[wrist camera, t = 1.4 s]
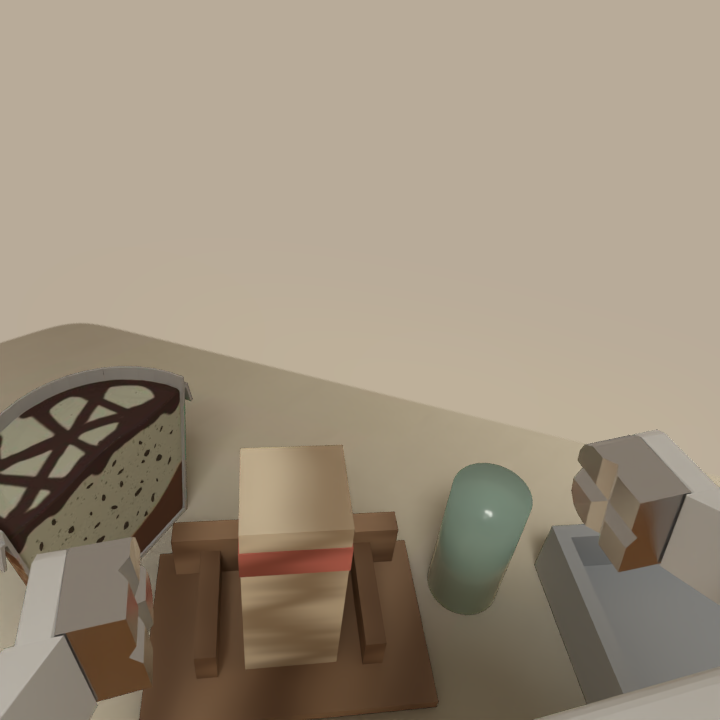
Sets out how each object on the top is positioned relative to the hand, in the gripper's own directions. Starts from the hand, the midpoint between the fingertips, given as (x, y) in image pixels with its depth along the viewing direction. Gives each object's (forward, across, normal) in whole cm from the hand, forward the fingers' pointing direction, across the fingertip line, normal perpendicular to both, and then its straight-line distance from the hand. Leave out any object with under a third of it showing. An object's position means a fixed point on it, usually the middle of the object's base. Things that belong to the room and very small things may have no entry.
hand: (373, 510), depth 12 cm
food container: (+20, +12, +21) cm, 31 cm away
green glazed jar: (+14, -9, +23) cm, 28 cm away
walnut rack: (+13, +2, +22) cm, 26 cm away
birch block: (+13, +1, +22) cm, 25 cm away
